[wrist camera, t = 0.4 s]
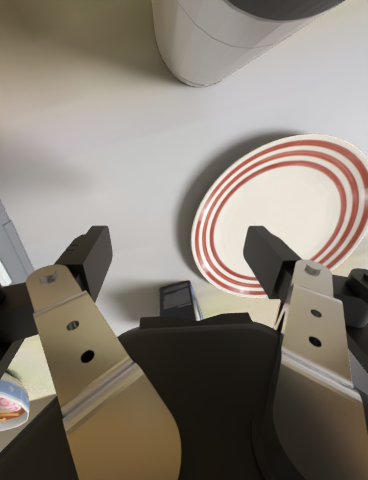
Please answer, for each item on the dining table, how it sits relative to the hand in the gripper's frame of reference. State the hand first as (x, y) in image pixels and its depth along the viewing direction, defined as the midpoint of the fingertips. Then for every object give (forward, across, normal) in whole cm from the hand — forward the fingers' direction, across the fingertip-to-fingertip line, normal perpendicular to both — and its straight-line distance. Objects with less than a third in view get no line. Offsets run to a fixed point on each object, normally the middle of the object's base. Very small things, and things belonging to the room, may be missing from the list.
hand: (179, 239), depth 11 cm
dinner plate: (+18, -17, +8) cm, 26 cm away
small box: (+18, -3, +25) cm, 31 cm away
